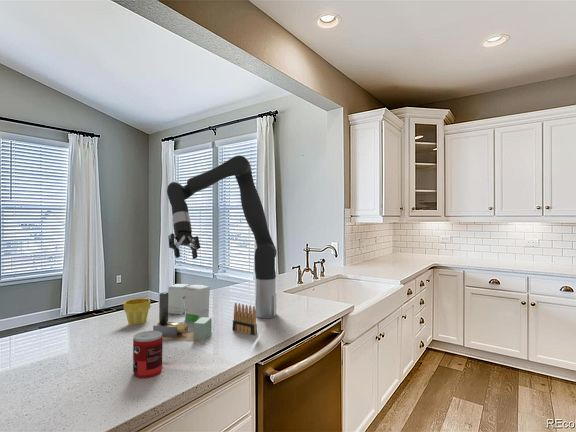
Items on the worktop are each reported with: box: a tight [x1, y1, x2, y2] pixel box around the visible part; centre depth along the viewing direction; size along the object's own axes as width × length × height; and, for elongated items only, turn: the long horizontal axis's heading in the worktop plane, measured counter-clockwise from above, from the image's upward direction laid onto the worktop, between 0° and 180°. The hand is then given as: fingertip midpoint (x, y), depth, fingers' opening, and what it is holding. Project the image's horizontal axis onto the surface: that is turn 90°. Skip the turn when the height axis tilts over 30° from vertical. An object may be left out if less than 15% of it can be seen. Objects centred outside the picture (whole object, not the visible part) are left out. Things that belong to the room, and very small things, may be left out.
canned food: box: [132, 330, 163, 379], centre depth 99 cm, size 8×8×11 cm
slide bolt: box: [156, 291, 189, 333], centre depth 126 cm, size 11×3×14 cm, turn 82°
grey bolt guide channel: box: [152, 321, 184, 338], centre depth 126 cm, size 9×5×4 cm, turn 82°
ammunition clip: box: [232, 302, 258, 336], centre depth 130 cm, size 11×2×12 cm, turn 59°
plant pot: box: [123, 297, 151, 326], centre depth 142 cm, size 10×10×10 cm
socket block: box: [193, 317, 212, 341], centre depth 125 cm, size 4×7×6 cm, turn 173°
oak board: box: [162, 330, 213, 343], centre depth 126 cm, size 20×10×1 cm, turn 83°
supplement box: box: [167, 283, 190, 315], centre depth 161 cm, size 7×7×13 cm
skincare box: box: [184, 283, 211, 323], centre depth 145 cm, size 8×7×16 cm
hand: (186, 257), depth 146 cm, fingers open, 8 cm apart
